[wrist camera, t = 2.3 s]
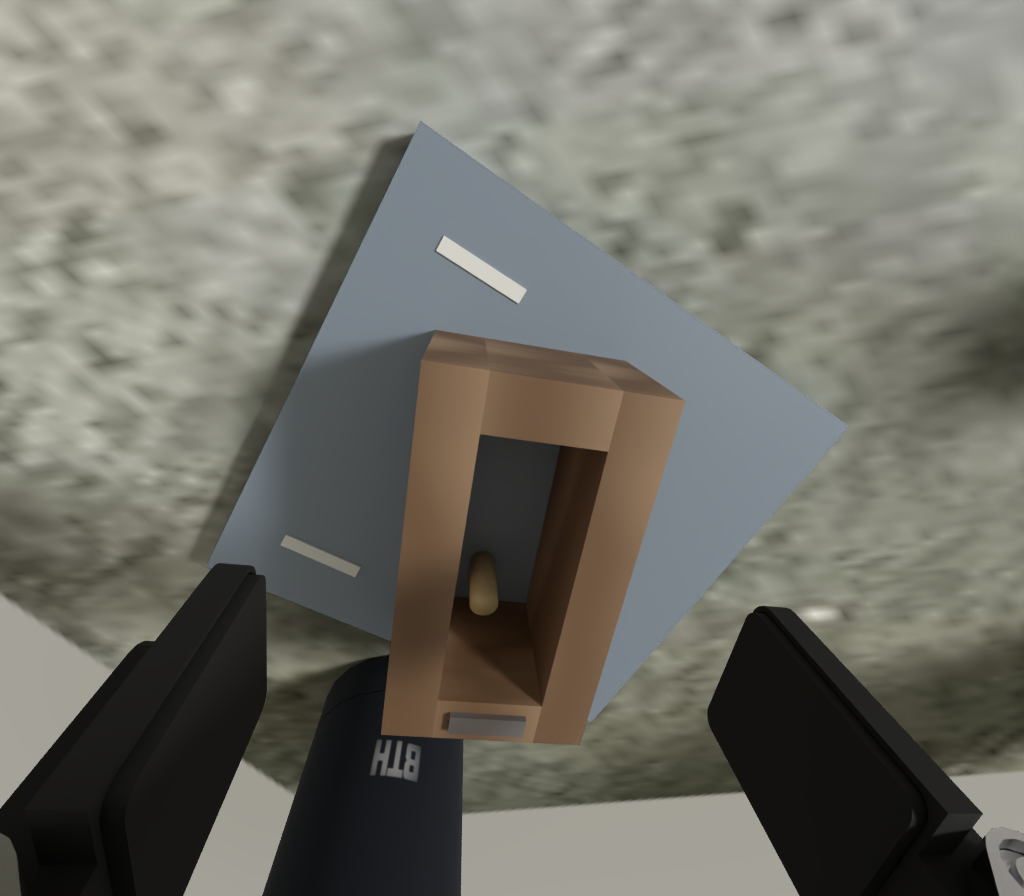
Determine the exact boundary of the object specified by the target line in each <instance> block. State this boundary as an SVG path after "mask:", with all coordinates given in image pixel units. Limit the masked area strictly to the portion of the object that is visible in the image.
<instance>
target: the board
mask: <svg viewBox="0 0 1024 896" xmlns="http://www.w3.org/2000/svg"><path fill="white" fill-rule="evenodd" d="M436 330H440V331H446V332H452V333H458V334H464V335H470V336H477V337H483V338H489V339H495V340H501V341H507V342H513V343H519V344H525V345H532V346H538V347H544V348H550V349H556V350H562V351H568V352H574V353H581V354H587V355H593V356H599V357H605V358H611V359H617V360H623V361H627V362H628V363H630V364H631V365H633V366H634V367H636V368H637V369H639V370H640V371H642V372H643V373H645V374H646V375H648V376H649V377H651V378H652V379H654V380H655V381H657V382H658V383H660V384H661V385H663V386H664V387H666V388H667V389H669V390H670V391H672V392H673V393H675V394H676V395H678V396H679V397H681V398H682V399H684V400H685V404H684V407H683V410H682V414H681V417H680V420H679V423H678V427H677V430H676V433H675V436H674V440H673V443H672V446H671V449H670V453H669V456H668V459H667V462H666V466H665V469H664V472H663V475H662V479H661V482H660V485H659V488H658V492H657V495H656V498H655V501H654V505H653V508H652V511H651V514H650V518H649V521H648V524H647V527H646V531H645V534H644V537H643V540H642V544H641V547H640V550H639V553H638V557H637V560H636V563H635V566H634V570H633V573H632V576H631V579H630V583H629V586H628V589H627V592H626V596H625V599H624V602H623V605H622V609H621V612H620V615H619V618H618V622H617V625H616V628H615V631H614V635H613V638H612V641H611V644H610V648H609V651H608V654H607V658H606V661H605V664H604V667H603V671H602V674H601V677H600V680H599V684H598V687H597V690H596V693H595V697H594V700H593V703H592V706H591V710H590V713H589V716H588V719H587V721H589V722H592V721H593V720H594V718H595V717H596V716H597V715H598V714H599V713H600V712H601V710H602V709H603V708H604V707H605V706H606V705H607V703H608V702H609V701H610V700H611V699H612V698H613V697H614V695H615V694H616V693H617V692H618V691H619V690H620V689H621V687H622V686H623V685H624V684H625V683H626V682H627V681H628V679H629V678H630V677H631V676H632V675H633V674H634V673H635V671H636V670H637V669H638V668H639V667H640V666H641V665H642V663H643V662H644V661H645V660H646V659H647V658H648V657H649V655H650V654H651V653H652V652H653V651H654V650H655V649H656V647H657V646H658V645H659V644H660V643H661V642H662V640H663V639H664V638H665V637H666V636H667V635H668V634H669V632H670V631H671V630H672V629H673V628H674V627H675V626H676V624H677V623H678V622H679V621H680V620H681V619H682V618H683V616H684V615H685V614H686V613H687V612H688V611H689V610H690V608H691V607H692V606H693V605H694V604H695V603H696V602H697V600H698V599H699V598H700V597H701V596H702V595H703V594H704V592H705V591H706V590H707V589H708V588H709V587H710V585H711V584H712V583H713V582H714V581H715V580H716V579H717V577H718V576H719V575H720V574H721V573H722V572H723V571H724V569H725V568H726V567H727V566H728V565H729V564H730V563H731V561H732V560H733V559H734V558H735V557H736V556H737V555H738V553H739V552H740V551H741V550H742V549H743V548H744V547H745V545H746V544H747V543H748V542H749V541H750V540H751V539H752V537H753V536H754V535H755V534H756V533H757V532H758V530H759V529H760V528H761V527H762V526H763V525H764V524H765V522H766V521H767V520H768V519H769V518H770V517H771V516H772V514H773V513H774V512H775V511H776V510H777V509H778V508H779V506H780V505H781V504H782V503H783V502H784V501H785V500H786V498H787V497H788V496H789V495H790V494H791V493H792V492H793V490H794V489H795V488H796V487H797V486H798V485H799V484H800V482H801V481H802V480H803V479H804V478H805V477H806V476H807V474H808V473H809V472H810V471H811V470H812V469H813V467H814V466H815V465H816V464H817V463H818V462H819V461H820V459H821V458H822V457H823V456H824V455H825V454H826V453H827V451H828V450H829V449H830V448H831V447H832V446H833V445H834V443H835V442H836V441H837V440H838V439H839V438H840V437H841V435H842V434H843V433H844V432H845V431H846V430H847V429H848V427H849V426H848V425H846V424H845V423H844V422H842V421H841V420H839V419H838V418H837V417H835V416H834V415H832V414H831V413H830V412H828V411H827V410H825V409H824V408H823V407H821V406H820V405H818V404H817V403H816V402H814V401H813V400H811V399H810V398H809V397H807V396H806V395H804V394H803V393H802V392H800V391H799V390H797V389H796V388H795V387H793V386H792V385H790V384H789V383H788V382H786V381H785V380H783V379H782V378H780V377H779V376H778V375H776V374H775V373H773V372H772V371H771V370H769V369H768V368H766V367H765V366H764V365H762V364H761V363H759V362H758V361H757V360H755V359H754V358H752V357H751V356H750V355H748V354H747V353H745V352H744V351H743V350H741V349H740V348H738V347H737V346H736V345H734V344H733V343H731V342H730V341H729V340H727V339H726V338H724V337H723V336H722V335H720V334H719V333H717V332H716V331H715V330H713V329H712V328H710V327H709V326H708V325H706V324H705V323H703V322H702V321H701V320H699V319H698V318H696V317H695V316H694V315H692V314H691V313H689V312H688V311H687V310H685V309H684V308H682V307H681V306H680V305H678V304H677V303H675V302H674V301H672V300H671V299H670V298H668V297H667V296H665V295H664V294H663V293H661V292H660V291H658V290H657V289H656V288H654V287H653V286H651V285H650V284H649V283H647V282H646V281H644V280H643V279H642V278H640V277H639V276H637V275H636V274H635V273H633V272H632V271H630V270H629V269H628V268H626V267H625V266H623V265H622V264H621V263H619V262H618V261H616V260H615V259H614V258H612V257H611V256H609V255H608V254H607V253H605V252H604V251H602V250H601V249H600V248H598V247H597V246H595V245H594V244H593V243H591V242H590V241H588V240H587V239H586V238H584V237H583V236H581V235H580V234H579V233H577V232H576V231H574V230H573V229H572V228H570V227H569V226H567V225H566V224H565V223H563V222H562V221H560V220H559V219H557V218H556V217H555V216H553V215H552V214H550V213H549V212H548V211H546V210H545V209H543V208H542V207H541V206H539V205H538V204H536V203H535V202H534V201H532V200H531V199H529V198H528V197H527V196H525V195H524V194H522V193H521V192H520V191H518V190H517V189H515V188H514V187H513V186H511V185H510V184H508V183H507V182H506V181H504V180H503V179H501V178H500V177H499V176H497V175H496V174H494V173H493V172H492V171H490V170H489V169H487V168H486V167H485V166H483V165H482V164H480V163H479V162H478V161H476V160H475V159H473V158H472V157H471V156H469V155H468V154H466V153H465V152H464V151H462V150H461V149H459V148H458V147H457V146H455V145H454V144H452V143H451V142H450V141H448V140H447V139H445V138H444V137H442V136H441V135H440V134H438V133H437V132H435V131H434V130H433V129H431V128H430V127H428V126H427V125H426V124H424V123H423V122H421V121H420V123H419V125H418V127H417V129H416V131H415V133H414V136H413V138H412V140H411V142H410V144H409V146H408V148H407V150H406V152H405V154H404V156H403V158H402V160H401V163H400V165H399V167H398V169H397V171H396V173H395V175H394V177H393V179H392V181H391V183H390V185H389V188H388V190H387V192H386V194H385V196H384V198H383V200H382V202H381V204H380V206H379V208H378V210H377V212H376V215H375V217H374V219H373V221H372V223H371V225H370V227H369V229H368V231H367V233H366V235H365V237H364V239H363V242H362V244H361V246H360V248H359V250H358V252H357V254H356V256H355V258H354V260H353V262H352V264H351V266H350V269H349V271H348V273H347V275H346V277H345V279H344V281H343V283H342V285H341V287H340V289H339V291H338V293H337V296H336V298H335V300H334V302H333V304H332V306H331V308H330V310H329V312H328V314H327V316H326V318H325V321H324V323H323V325H322V327H321V329H320V331H319V333H318V335H317V337H316V339H315V341H314V343H313V345H312V348H311V350H310V352H309V354H308V356H307V358H306V360H305V362H304V364H303V366H302V368H301V370H300V372H299V375H298V377H297V379H296V381H295V383H294V385H293V387H292V389H291V391H290V393H289V395H288V397H287V399H286V402H285V404H284V406H283V408H282V410H281V412H280V414H279V416H278V418H277V420H276V422H275V424H274V426H273V429H272V431H271V433H270V435H269V437H268V439H267V441H266V443H265V445H264V447H263V449H262V451H261V454H260V456H259V458H258V460H257V462H256V464H255V466H254V468H253V470H252V472H251V474H250V476H249V478H248V481H247V483H246V485H245V487H244V489H243V491H242V493H241V495H240V497H239V499H238V501H237V503H236V505H235V508H234V510H233V512H232V514H231V516H230V518H229V520H228V522H227V524H226V526H225V528H224V530H223V532H222V535H221V537H220V539H219V541H218V543H217V545H216V547H215V549H214V551H213V553H212V555H211V557H210V559H209V562H208V564H207V566H206V567H207V568H210V569H212V568H213V567H214V566H215V565H216V564H218V563H226V564H239V565H251V566H254V567H255V570H256V575H264V576H265V578H266V591H267V592H269V593H272V594H274V595H277V596H279V597H282V598H284V599H287V600H289V601H292V602H294V603H297V604H299V605H301V606H304V607H306V608H309V609H311V610H314V611H316V612H319V613H321V614H324V615H326V616H329V617H331V618H334V619H336V620H339V621H341V622H344V623H346V624H349V625H351V626H354V627H356V628H359V629H361V630H363V631H366V632H368V633H371V634H373V635H376V636H378V637H381V638H383V639H386V640H388V641H391V636H392V627H393V618H394V609H395V599H396V590H397V581H398V572H399V562H400V553H401V544H402V535H403V525H404V516H405V507H406V497H407V488H408V479H409V470H410V460H411V451H412V442H413V433H414V423H415V414H416V405H417V396H418V386H419V377H420V368H421V360H422V358H423V355H424V353H425V351H426V349H427V347H428V345H429V343H430V341H431V339H432V337H433V335H434V333H435V331H436ZM560 446H561V445H555V444H548V443H541V442H533V441H526V440H519V439H511V438H504V437H497V436H489V435H482V434H480V437H479V443H478V450H477V456H476V462H475V469H474V475H473V481H472V488H471V494H470V500H469V507H468V513H467V519H466V525H465V532H464V538H463V544H462V551H461V557H460V563H459V570H458V576H457V582H456V588H455V595H454V597H465V598H470V608H471V610H472V611H473V612H474V613H475V614H478V615H489V614H491V613H493V612H494V611H495V610H496V609H497V607H498V601H509V602H520V603H526V599H527V595H528V590H529V586H530V581H531V577H532V572H533V568H534V563H535V559H536V554H537V550H538V545H539V541H540V536H541V532H542V527H543V523H544V518H545V514H546V509H547V505H548V500H549V496H550V491H551V487H552V482H553V478H554V473H555V469H556V464H557V460H558V455H559V451H560Z"/></svg>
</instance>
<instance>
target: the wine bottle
mask: <svg viewBox="0 0 1024 896" xmlns="http://www.w3.org/2000/svg"><path fill="white" fill-rule="evenodd" d="M388 664H389V656H388V657H382V658H376V659H371V660H367V661H365V662H363V663H361V664H359V665H356V666H354V667H352V668H350V669H349V670H348V671H347V672H345V673H344V674H343V675H342V676H341V677H340V678H339V679H338V680H336V681H335V683H334V685H333V687H332V689H331V691H330V693H329V695H328V697H327V699H326V702H325V705H324V709H323V712H322V715H321V718H320V721H319V724H318V727H317V730H316V733H315V736H314V739H313V742H312V745H311V748H310V751H309V754H308V757H307V761H306V764H305V767H304V770H303V773H302V776H301V779H300V782H299V785H298V788H297V791H296V794H295V797H294V800H293V804H292V806H291V810H290V813H289V816H288V819H287V822H286V825H285V828H284V831H283V834H282V837H281V840H280V843H279V846H278V850H277V852H276V855H275V859H274V861H273V865H272V868H271V871H270V874H269V877H268V880H267V883H266V886H265V889H264V892H263V895H262V896H461V846H462V843H461V842H462V841H461V840H462V785H463V739H453V738H433V737H414V736H395V735H381V729H382V720H383V711H384V701H385V692H386V683H387V674H388Z"/></svg>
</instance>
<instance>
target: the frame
mask: <svg viewBox="0 0 1024 896" xmlns="http://www.w3.org/2000/svg"><path fill="white" fill-rule="evenodd" d="M684 404H685V400H684V399H682V398H681V397H679V396H678V395H676V394H675V393H673V392H672V391H670V390H669V389H667V388H666V387H664V386H663V385H661V384H660V383H658V382H657V381H655V380H654V379H652V378H651V377H649V376H648V375H646V374H645V373H643V372H642V371H640V370H639V369H637V368H636V367H634V366H633V365H631V364H630V363H628V362H627V361H623V360H617V359H611V358H605V357H599V356H593V355H587V354H581V353H574V352H568V351H562V350H556V349H550V348H544V347H538V346H532V345H525V344H519V343H513V342H507V341H501V340H495V339H489V338H483V337H477V336H470V335H464V334H458V333H452V332H446V331H440V330H436V331H435V333H434V335H433V337H432V339H431V341H430V343H429V345H428V347H427V349H426V351H425V353H424V355H423V358H422V360H421V368H420V377H419V386H418V396H417V405H416V414H415V423H414V433H413V442H412V451H411V460H410V470H409V479H408V488H407V497H406V507H405V516H404V525H403V535H402V544H401V553H400V562H399V572H398V581H397V590H396V599H395V609H394V618H393V627H392V636H391V646H390V655H389V664H388V674H387V683H386V692H385V701H384V711H383V720H382V729H381V735H395V736H414V737H433V738H453V739H472V740H491V741H510V742H529V743H549V744H568V745H580V742H581V739H582V736H583V732H584V729H585V726H586V723H587V719H588V716H589V713H590V710H591V706H592V703H593V700H594V697H595V693H596V690H597V687H598V684H599V680H600V677H601V674H602V671H603V667H604V664H605V661H606V658H607V654H608V651H609V648H610V644H611V641H612V638H613V635H614V631H615V628H616V625H617V622H618V618H619V615H620V612H621V609H622V605H623V602H624V599H625V596H626V592H627V589H628V586H629V583H630V579H631V576H632V573H633V570H634V566H635V563H636V560H637V557H638V553H639V550H640V547H641V544H642V540H643V537H644V534H645V531H646V527H647V524H648V521H649V518H650V514H651V511H652V508H653V505H654V501H655V498H656V495H657V492H658V488H659V485H660V482H661V479H662V475H663V472H664V469H665V466H666V462H667V459H668V456H669V453H670V449H671V446H672V443H673V440H674V436H675V433H676V430H677V427H678V423H679V420H680V417H681V414H682V410H683V407H684ZM480 434H482V435H489V436H497V437H504V438H511V439H519V440H526V441H533V442H541V443H548V444H555V445H561V446H560V451H559V455H558V460H557V464H556V469H555V473H554V478H553V482H552V487H551V491H550V496H549V500H548V505H547V509H546V514H545V518H544V523H543V527H542V532H541V536H540V541H539V545H538V550H537V554H536V559H535V563H534V568H533V572H532V577H531V581H530V586H529V590H528V595H527V599H526V603H520V602H509V601H498V607H497V609H496V610H495V611H494V612H493V613H491V614H489V615H478V614H475V613H474V612H473V611H472V610H471V608H470V598H465V597H454V595H455V588H456V582H457V576H458V570H459V563H460V557H461V551H462V544H463V538H464V532H465V525H466V519H467V513H468V507H469V500H470V494H471V488H472V481H473V475H474V469H475V462H476V456H477V450H478V443H479V437H480Z"/></svg>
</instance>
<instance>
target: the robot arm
mask: <svg viewBox="0 0 1024 896" xmlns="http://www.w3.org/2000/svg"><path fill="white" fill-rule="evenodd" d="M266 692H267V650H266V578H265V576H264V575H256V570H255V567H254V566H251V565H239V564H226V563H218V564H216V565H215V566H214V567H213V568H212V569H211V570H210V571H209V573H208V574H207V575H206V576H205V578H204V579H203V580H202V582H201V583H200V584H199V585H198V587H197V588H196V589H195V591H194V592H193V593H192V594H191V596H190V597H189V598H188V600H187V601H186V602H185V603H184V605H183V606H182V607H181V608H180V610H179V611H178V612H177V614H176V615H175V616H174V617H173V619H172V620H171V621H170V623H169V624H168V625H167V626H166V628H165V629H164V630H163V632H162V633H161V634H160V635H159V637H158V638H157V639H156V640H155V641H143V642H141V643H139V644H137V645H136V646H135V647H134V648H133V649H132V650H131V651H130V652H129V653H128V654H127V656H126V657H125V658H124V659H123V660H122V662H121V663H120V664H119V665H118V666H117V668H116V669H115V670H114V671H113V673H112V674H111V675H110V676H109V678H108V679H107V680H106V681H105V682H104V683H103V685H102V686H101V687H100V688H99V690H98V691H97V692H96V693H95V694H94V696H93V697H92V698H91V699H90V701H89V702H88V703H87V704H86V705H85V707H84V708H83V709H82V710H81V711H80V713H79V714H78V715H77V716H76V718H75V719H74V720H73V721H72V722H71V724H70V725H69V726H68V727H67V728H66V730H65V731H64V732H63V733H62V735H61V736H60V737H59V738H58V739H57V741H56V742H55V743H54V744H53V745H52V747H51V748H50V749H49V750H48V752H47V753H46V754H45V755H44V757H43V758H42V759H41V760H40V761H39V762H38V764H37V765H36V766H35V767H34V769H33V770H32V771H31V772H30V773H29V775H28V776H27V777H26V778H25V780H24V781H23V782H22V783H21V784H20V785H19V787H18V788H17V789H16V790H15V792H14V793H13V794H12V795H11V797H10V798H9V799H8V800H7V801H6V802H5V804H4V805H3V806H2V807H1V809H0V896H183V894H184V892H185V890H186V887H187V885H188V883H189V880H190V878H191V876H192V873H193V871H194V869H195V866H196V864H197V862H198V859H199V857H200V855H201V852H202V850H203V848H204V845H205V843H206V841H207V838H208V836H209V834H210V831H211V829H212V827H213V824H214V822H215V820H216V817H217V815H218V812H219V809H220V808H221V805H222V803H223V801H224V799H225V796H226V794H227V791H228V789H229V787H230V784H231V782H232V780H233V777H234V775H235V773H236V770H237V768H238V766H239V764H240V761H241V759H242V757H243V754H244V752H245V750H246V747H247V745H248V743H249V740H250V738H251V736H252V733H253V731H254V729H255V726H256V724H257V722H258V719H259V717H260V715H261V712H262V709H263V706H264V703H265V698H266ZM707 715H708V722H709V726H710V728H711V730H712V732H713V734H714V736H715V738H716V739H717V741H718V743H719V745H720V747H721V749H722V751H723V753H724V755H725V756H726V758H727V760H728V762H729V764H730V766H731V768H732V770H733V771H734V773H735V775H736V777H737V779H738V781H739V783H740V785H741V786H742V788H743V790H744V792H745V794H746V796H747V798H748V800H749V801H750V803H751V805H752V807H753V809H754V811H755V813H756V815H757V817H758V818H759V820H760V822H761V824H762V826H763V827H764V830H765V832H766V833H767V835H768V837H769V839H770V841H771V843H772V845H773V847H774V848H775V850H776V852H777V854H778V856H779V858H780V860H781V861H782V864H783V865H784V867H785V869H786V871H787V873H788V875H789V877H790V878H791V880H792V882H793V884H794V886H795V888H796V890H797V892H798V894H799V896H1024V834H1023V833H1021V832H1019V831H1015V830H1012V829H1007V828H1003V827H1001V828H992V829H991V830H990V831H989V832H988V833H987V834H986V835H985V837H984V838H983V839H982V838H981V837H980V836H979V835H978V834H977V833H976V831H975V830H974V829H973V828H972V827H973V826H974V825H975V823H976V822H977V821H978V820H979V818H980V817H981V815H982V814H983V813H982V812H981V811H980V810H979V809H978V808H977V807H976V806H975V805H974V804H973V803H972V802H971V801H970V799H969V798H968V797H967V796H966V795H965V794H964V793H963V792H962V791H961V790H960V789H959V788H958V787H957V786H956V785H955V784H954V782H953V781H952V780H951V779H950V778H949V777H948V776H947V775H946V774H945V773H944V772H943V771H942V770H941V768H940V767H939V766H938V765H937V764H936V763H935V762H934V761H933V760H932V759H931V758H930V757H929V756H928V755H927V754H926V752H925V751H924V750H923V749H922V748H921V747H920V746H919V745H918V744H917V743H916V742H915V741H914V740H913V739H912V737H911V736H910V735H909V734H908V733H907V732H906V731H905V730H904V729H903V728H902V727H901V726H900V725H899V724H898V723H897V721H896V720H895V719H894V718H893V717H892V716H891V715H890V714H889V713H888V712H887V711H886V710H885V709H884V708H883V707H882V705H881V704H880V703H879V702H878V701H877V700H876V699H875V698H874V697H873V696H872V695H871V694H870V693H869V692H868V691H867V689H866V688H865V687H864V686H863V685H862V684H861V683H860V682H859V681H858V680H857V679H856V678H855V677H854V676H853V674H852V673H851V672H850V671H849V670H848V669H847V668H846V667H845V666H844V665H843V664H842V663H841V662H840V661H839V660H838V658H837V657H836V656H835V655H834V654H833V653H832V652H831V651H830V650H829V649H828V648H827V647H826V646H825V645H824V644H823V642H822V641H821V640H820V639H819V638H818V637H817V636H816V635H815V634H814V633H813V632H812V631H811V630H810V629H809V628H808V626H807V625H806V624H805V623H804V622H803V621H802V620H801V619H800V618H799V617H798V616H797V615H796V614H795V613H794V612H793V611H792V610H791V609H788V608H782V607H769V606H759V607H757V608H756V609H755V610H754V611H753V613H750V614H749V615H748V616H747V618H746V620H745V622H744V624H743V627H742V629H741V631H740V634H739V636H738V639H737V641H736V643H735V646H734V648H733V650H732V653H731V655H730V657H729V660H728V662H727V664H726V667H725V669H724V672H723V674H722V676H721V679H720V681H719V683H718V686H717V688H716V690H715V693H714V695H713V698H712V700H711V702H710V705H709V707H708V714H707Z"/></svg>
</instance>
